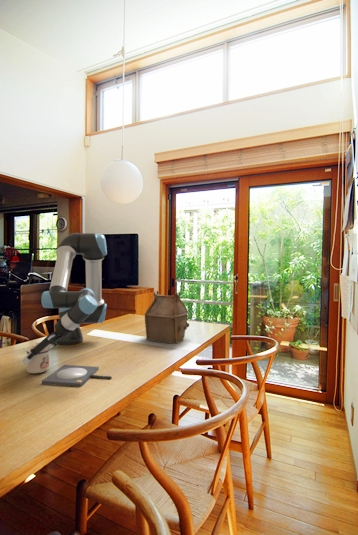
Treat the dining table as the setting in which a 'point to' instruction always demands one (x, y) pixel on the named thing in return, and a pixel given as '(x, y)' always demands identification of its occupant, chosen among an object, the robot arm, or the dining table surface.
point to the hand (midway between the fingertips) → (33, 357)
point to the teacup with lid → (39, 361)
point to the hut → (166, 319)
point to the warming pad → (72, 375)
